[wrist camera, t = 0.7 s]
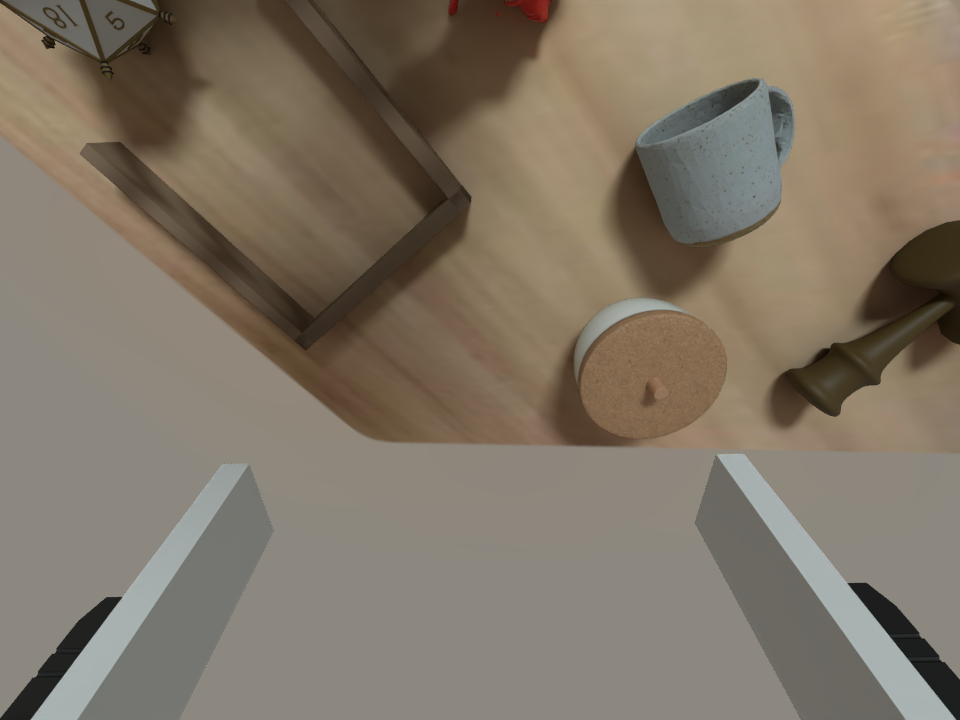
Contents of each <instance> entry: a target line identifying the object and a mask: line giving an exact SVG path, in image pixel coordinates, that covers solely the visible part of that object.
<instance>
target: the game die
mask: <svg viewBox="0 0 960 720" xmlns="http://www.w3.org/2000/svg"><path fill="white" fill-rule="evenodd" d="M0 3H1V4H3V5H4V6H5V7H7V8H8V9H10V10H11V11H13V12H14V13H15V14H17V15H18V16H20V17H21V18H22V19H24V20H25V21H27V22H28V23H30V24H31V25H32V26H34V27H35V28H37V29H38V30H39V31H41V32H42V33H44V34H45V35H47V36H45V37H43V39H44V40H42V42H43V43H44V45H45V47H46V49H49V48H55V47H54V45H56V44H55V41H57V42H59V43H61V44H63V45H65V46H67V47H69V48H71V49H73V50H76V51H78V52H80V53H82V54H84V55H86V56H88V57H90V58H92V59H94V60H96V61H98V62H100V63H101V68H100V69H102V74H104V75H105V76H106V77H107V78H108V79H109V80H111V78H112V75H113V74H114V73H113V72H112V68H111V67H110V66H109V65H108V63H109V62H111V61H112V60H114V59H116V58H118V57H119V56H121V55H123V54H125V53H126V52H128V51H130V50H132V49H133V48H135V47H137V46H138V47H139V50H140V51H142V53H143V54H148V55H150V51H149V49H150V48H149V47H147V45H145V44H143V43H142V41H143V40H144V39H145V37H146V36H147V35H148V34H149V32H150V31H151V30H152V28H153V27H154V26H155V25H156V23H157V22H158V21H159V19H160V18H161V19H163V20H164V21H165V22H166V23H167V22H168V23H170V25H172V24H173V23H178V21H177V20H176V19H175V18H174V17H173V16H172V14H169V13H167V12H161V11H160V8H159V6H158V3H157V1H156V0H0ZM54 40H55V41H54Z"/></svg>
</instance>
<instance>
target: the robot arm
mask: <svg viewBox="0 0 960 720" xmlns="http://www.w3.org/2000/svg"><path fill="white" fill-rule="evenodd" d="M695 524H696V526H697V528H698V530H699V532H700V533H701V535H702V537H703V539H704V541H705V543H706V545H707V546H708V548H709V550H710V552H711V554H712V556H713V557H714V559H715V561H716V563H717V565H718V567H719V569H720V570H721V572H722V574H723V576H724V578H725V580H726V582H727V583H728V585H729V587H730V589H731V591H732V593H733V595H734V596H735V598H736V600H737V602H738V604H739V605H740V607H741V609H742V611H743V613H744V615H745V617H746V619H747V620H748V622H749V624H750V626H751V628H752V630H753V631H754V633H755V635H756V637H757V639H758V641H759V643H760V645H761V646H762V648H763V650H764V652H765V654H766V655H767V658H768V659H769V661H770V663H771V665H772V667H773V668H774V670H775V672H776V674H777V676H778V678H779V680H780V682H781V683H782V685H783V687H784V689H785V691H786V693H787V695H788V696H789V698H790V700H791V702H792V704H793V706H794V708H795V709H796V711H797V713H798V715H799V717H800V719H801V720H960V679H959V678H958V677H957V676H956V675H955V674H954V672H953V671H952V670H951V669H950V668H949V667H948V666H947V664H946V663H945V662H942V661H941V660H940V659H939V655H938V654H937V653H936V652H935V651H934V649H933V648H932V647H931V646H930V645H929V644H928V642H927V641H926V640H925V639H922V638H921V637H920V635H919V632H918V631H917V630H916V628H915V627H914V626H913V625H912V624H911V623H910V622H909V620H908V619H907V618H906V617H905V616H904V615H903V613H902V612H901V611H900V610H899V609H898V608H897V606H895V605H894V604H893V603H892V602H890V601H889V600H888V599H887V598H885V597H884V596H883V595H881V594H880V593H879V592H878V591H876V590H875V589H874V588H872V587H871V586H870V585H869V584H867V583H846V581H845V580H844V579H843V578H842V577H841V575H840V574H839V573H838V571H837V570H836V569H835V568H834V566H833V565H832V564H831V563H830V561H829V560H828V559H827V558H826V556H825V555H824V554H823V553H822V551H821V550H820V549H819V548H818V546H817V545H816V544H815V543H814V541H813V540H812V539H811V538H810V536H809V535H808V534H807V533H806V531H805V530H804V529H803V528H802V526H801V525H800V524H799V523H798V521H797V520H796V519H795V518H794V516H793V515H792V514H791V513H790V511H789V510H788V509H787V508H786V506H785V505H784V504H783V503H782V501H781V500H780V499H779V498H778V496H777V495H776V494H775V493H774V491H773V490H772V489H771V488H770V486H769V485H768V484H767V482H766V481H765V480H764V479H763V478H762V476H761V475H760V474H759V473H758V471H757V470H756V469H755V468H754V466H753V465H752V464H751V462H750V461H749V460H748V459H747V457H746V456H745V455H744V454H716V456H715V460H714V463H713V466H712V469H711V472H710V475H709V479H708V482H707V485H706V488H705V492H704V495H703V498H702V501H701V504H700V508H699V511H698V514H697V517H696V521H695ZM273 532H274V530H273V527H272V524H271V521H270V519H269V516H268V514H267V511H266V508H265V505H264V503H263V500H262V497H261V495H260V492H259V489H258V486H257V484H256V481H255V479H254V476H253V473H252V470H251V467H250V465H249V464H222V465H221V467H220V468H219V469H218V471H217V472H216V473H215V475H214V476H213V477H212V479H211V480H210V481H209V483H208V484H207V485H206V487H205V488H204V489H203V491H202V492H201V493H200V495H199V496H198V497H197V499H196V500H195V501H194V503H193V504H192V505H191V507H190V508H189V509H188V511H187V512H186V513H185V515H184V516H183V517H182V519H181V520H180V521H179V523H178V524H177V525H176V527H175V528H174V529H173V531H172V532H171V533H170V535H169V536H168V537H167V539H166V540H165V541H164V543H163V544H162V546H161V547H160V548H159V549H158V551H157V552H156V553H155V555H154V556H153V558H152V559H151V560H150V561H149V563H148V564H147V565H146V567H145V568H144V569H143V571H142V572H141V573H140V575H139V576H138V577H137V579H136V580H135V582H134V583H133V584H132V585H131V587H130V588H129V589H128V591H127V592H126V594H125V595H124V596H123V597H106V598H105V599H104V600H103V601H101V602H100V603H99V604H98V605H97V606H96V607H94V608H93V609H92V610H91V611H90V612H88V613H87V614H86V615H85V616H84V617H83V618H81V619H80V620H79V621H78V622H77V623H76V625H75V626H74V627H73V628H72V630H71V631H70V632H69V633H68V635H67V636H66V637H65V639H64V640H63V641H62V642H61V643H60V645H59V646H58V647H57V651H56V653H55V654H52V655H51V656H50V657H49V658H48V660H47V661H46V662H45V663H44V665H43V666H42V667H41V668H40V670H39V671H38V675H37V676H36V677H35V678H32V679H31V681H30V682H29V683H28V684H27V686H26V687H25V688H24V690H23V691H22V692H21V693H20V694H19V696H18V697H17V698H16V699H15V701H14V702H13V703H12V704H11V706H10V707H9V708H8V710H7V711H6V712H5V713H4V714H3V716H2V717H1V718H0V720H179V719H180V717H181V715H182V713H183V711H184V709H185V707H186V705H187V703H188V701H189V699H190V697H191V695H192V693H193V691H194V689H195V687H196V685H197V683H198V681H199V679H200V677H201V675H202V673H203V671H204V669H205V667H206V665H207V663H208V661H209V659H210V657H211V655H212V653H213V651H214V649H215V647H216V645H217V643H218V641H219V639H220V637H221V635H222V633H223V631H224V629H225V627H226V625H227V623H228V621H229V619H230V617H231V615H232V613H233V611H234V609H235V607H236V605H237V603H238V601H239V599H240V597H241V595H242V593H243V591H244V589H245V588H246V585H247V583H248V582H249V579H250V577H251V575H252V574H253V572H254V569H255V567H256V566H257V564H258V561H259V560H260V558H261V556H262V554H263V552H264V550H265V548H266V545H267V543H268V542H269V539H270V538H271V535H272V533H273Z"/></svg>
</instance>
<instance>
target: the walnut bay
mask: <svg viewBox="0 0 960 720" xmlns="http://www.w3.org/2000/svg"><path fill="white" fill-rule="evenodd" d="M285 1H286V2H287V4H288V5H289V6H290V7H291V8H292V10H293V11H294V12H295V13H296V14H297V16H298V17H299V18H300V19H301V21H302V22H303V23H304V24H305V25H306V27H307V28H308V29H309V30H310V31H311V33H312V34H313V35H314V36H315V37H316V39H317V40H318V41H319V42H320V44H321V45H322V46H323V47H324V48H325V50H326V51H327V52H328V53H329V54H330V56H331V57H332V58H333V59H334V60H335V62H336V63H337V64H338V65H339V67H340V68H341V69H342V70H343V71H344V73H345V74H346V75H347V76H348V77H349V79H350V80H351V81H352V82H353V83H354V85H355V86H356V87H357V88H358V90H359V91H360V92H361V93H362V94H363V96H364V97H365V98H366V99H367V100H368V102H369V103H370V104H371V105H372V106H373V108H374V109H375V110H376V111H377V113H378V114H379V115H380V116H381V117H382V119H383V120H384V121H385V122H386V123H387V125H388V126H389V127H390V128H391V129H392V131H393V132H394V133H395V134H396V136H397V137H398V138H399V139H400V140H401V142H402V143H403V144H404V145H405V146H406V148H407V149H408V150H409V151H410V152H411V154H412V155H413V156H414V157H415V159H416V160H417V161H418V162H419V163H420V165H421V166H422V167H423V168H424V169H425V171H426V172H427V173H428V174H429V175H430V177H431V178H432V179H433V180H434V182H435V183H436V184H437V185H438V186H439V188H440V189H441V190H442V191H443V192H444V194H445V195H446V196H447V198H446V199H445V200H444V201H442V202H441V203H440V204H439V205H438V206H437V207H436V208H435V209H434V210H433V211H432V212H430V213H429V214H428V215H427V216H426V217H425V218H424V219H423V220H422V221H421V222H420V223H418V224H417V225H416V226H415V227H414V228H413V229H412V230H411V231H410V232H409V233H408V234H406V235H405V236H404V237H403V238H402V239H401V240H400V241H399V242H398V243H397V244H396V245H395V246H393V247H392V248H391V249H390V250H389V251H388V252H387V253H386V254H385V255H384V256H383V257H381V258H380V259H379V260H378V261H377V262H376V263H375V264H374V265H373V266H372V267H371V268H369V269H368V270H367V271H366V272H365V273H364V274H363V275H362V276H361V277H360V278H359V279H358V280H356V281H355V282H354V283H353V284H352V285H351V286H350V287H349V288H348V289H347V290H346V291H344V292H343V293H342V294H341V295H340V296H339V297H338V298H337V299H336V300H335V301H334V302H332V303H331V304H330V305H329V306H328V307H327V308H326V309H325V310H324V311H323V312H322V313H320V314H319V315H318V316H317V317H316V318H315V319H314V318H313V317H312V316H311V315H310V314H308V313H307V312H306V311H305V310H304V309H303V308H302V307H301V306H300V305H299V304H298V303H296V302H295V301H294V300H293V299H292V298H291V297H290V296H289V295H288V294H287V293H285V292H284V291H283V290H282V289H281V288H280V287H279V286H278V285H277V284H276V283H274V282H273V281H272V280H271V279H270V278H269V277H268V276H267V275H266V274H265V273H263V272H262V271H261V270H260V269H259V268H258V267H257V266H256V265H255V264H254V263H252V262H251V261H250V260H249V259H248V258H247V257H246V256H245V255H244V254H243V253H241V252H240V251H239V250H238V249H237V248H236V247H235V246H234V245H233V244H232V243H230V242H229V241H228V240H227V239H226V238H225V237H224V236H223V235H222V234H221V233H219V232H218V231H217V230H216V229H215V228H214V227H213V226H212V225H211V224H210V223H208V222H207V221H206V220H205V219H204V218H203V217H202V216H201V215H200V214H199V213H197V212H196V211H195V210H194V209H193V208H192V207H191V206H190V205H189V204H188V203H186V202H185V201H184V200H183V199H182V198H181V197H180V196H179V195H178V194H177V193H175V192H174V191H173V190H172V189H171V188H170V187H169V186H168V185H167V184H166V183H165V182H163V181H162V180H161V179H160V178H159V177H158V176H157V175H156V174H155V173H154V172H152V171H151V170H150V169H149V168H148V167H147V166H146V165H145V164H144V163H143V162H141V161H140V160H139V159H138V158H137V157H136V156H135V155H134V154H133V153H132V152H130V151H129V150H128V149H127V148H126V147H125V146H124V145H123V144H122V143H121V142H108V143H87V144H86V145H85V147H84V148H83V149H82V151H81V152H80V155H81V156H82V157H84V158H85V159H86V160H87V161H88V162H89V163H91V164H92V165H93V166H94V167H95V168H96V169H97V170H99V171H100V172H101V173H102V174H103V175H104V176H105V177H107V178H108V179H109V180H110V181H111V182H112V183H114V184H115V185H116V186H117V187H118V188H119V189H120V190H122V191H123V192H124V193H125V194H126V195H127V196H129V197H130V198H131V199H132V200H133V201H134V202H135V203H137V204H138V205H139V206H140V207H141V208H142V209H144V210H145V211H146V212H147V213H148V214H149V215H150V216H152V217H153V218H154V219H155V220H156V221H157V222H158V223H160V224H161V225H162V226H163V227H164V228H165V229H167V230H168V231H169V232H170V233H171V234H172V235H173V236H175V237H176V238H177V239H178V240H179V241H180V242H182V243H183V244H184V245H185V246H186V247H187V248H188V249H190V250H191V251H192V252H193V253H194V254H195V255H196V256H198V257H199V258H200V259H201V260H202V261H203V262H205V263H206V264H207V265H208V266H209V267H210V268H211V269H213V270H214V271H215V272H216V273H217V274H218V275H220V276H221V277H222V278H223V279H224V280H225V281H226V282H228V283H229V284H230V285H231V286H232V287H233V288H234V289H236V290H237V291H238V292H239V293H240V294H241V295H243V296H244V297H245V298H246V299H247V300H248V301H249V302H251V303H252V304H253V305H254V306H255V307H256V308H258V309H259V310H260V311H261V312H262V313H263V314H264V315H266V316H267V317H268V318H269V319H270V320H271V321H273V322H274V323H275V324H276V325H277V326H278V327H279V328H281V329H282V330H283V331H284V332H285V333H286V334H287V335H289V336H290V337H291V338H292V339H293V340H294V341H296V342H297V343H298V344H299V345H300V346H301V347H302V348H304V349H305V350H307V349H308V348H309V347H310V346H311V345H312V344H313V343H315V342H316V341H317V340H318V339H319V338H320V337H321V336H322V335H324V334H325V333H326V332H327V331H328V330H329V329H330V328H331V327H332V326H334V325H335V324H336V323H337V322H338V321H339V320H340V319H341V318H343V317H344V316H345V315H346V314H347V313H348V312H349V311H350V310H352V309H353V308H354V307H355V306H356V305H357V304H358V303H359V302H360V301H362V300H363V299H364V298H365V297H366V296H367V295H368V294H369V293H371V292H372V291H373V290H374V289H375V288H376V287H377V286H378V285H380V284H381V283H382V282H383V281H384V280H385V279H386V278H387V277H388V276H390V275H391V274H392V273H393V272H394V271H395V270H396V269H397V268H399V267H400V266H401V265H402V264H403V263H404V262H405V261H406V260H407V259H409V258H410V257H411V256H412V255H413V254H414V253H415V252H416V251H418V250H419V249H420V248H421V247H422V246H423V245H424V244H425V243H427V242H428V241H429V240H430V239H431V238H432V237H433V236H434V235H435V234H437V233H438V232H439V231H440V230H441V229H442V228H443V227H444V226H446V225H447V224H448V223H449V222H450V221H451V220H452V219H453V218H455V217H456V216H457V215H458V214H459V213H460V212H461V211H462V210H463V209H465V208H466V207H467V206H468V205H469V204H470V203H471V196H470V195H469V194H468V192H467V191H466V190H465V189H464V187H463V186H462V185H461V184H460V182H459V181H458V180H457V179H456V177H455V176H454V175H453V174H452V172H451V171H450V170H449V169H448V167H447V166H446V165H445V164H444V162H443V161H442V160H441V159H440V157H439V156H438V155H437V154H436V152H435V151H434V150H433V149H432V147H431V146H430V145H429V144H428V142H427V141H426V140H425V139H424V137H423V136H422V135H421V134H420V132H419V131H418V130H417V129H416V127H415V126H414V125H413V124H412V122H411V121H410V120H409V119H408V117H407V116H406V115H405V114H404V112H403V111H402V110H401V109H400V107H399V106H398V105H397V104H396V102H395V101H394V100H393V99H392V97H391V96H390V95H389V94H388V92H387V91H386V90H385V89H384V88H383V86H382V85H381V84H380V83H379V81H378V80H377V79H376V78H375V76H374V75H373V74H372V73H371V71H370V70H369V69H368V68H367V66H366V65H365V64H364V63H363V61H362V60H361V59H360V58H359V56H358V55H357V54H356V53H355V51H354V50H353V49H352V48H351V46H350V45H349V44H348V43H347V41H346V40H345V39H344V38H343V36H342V35H341V34H340V33H339V31H338V30H337V29H336V28H335V26H334V25H333V24H332V23H331V21H330V20H329V19H328V18H327V16H326V15H325V14H324V13H323V11H322V10H321V9H320V8H319V6H318V5H317V4H316V3H315V1H314V0H285Z"/></svg>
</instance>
